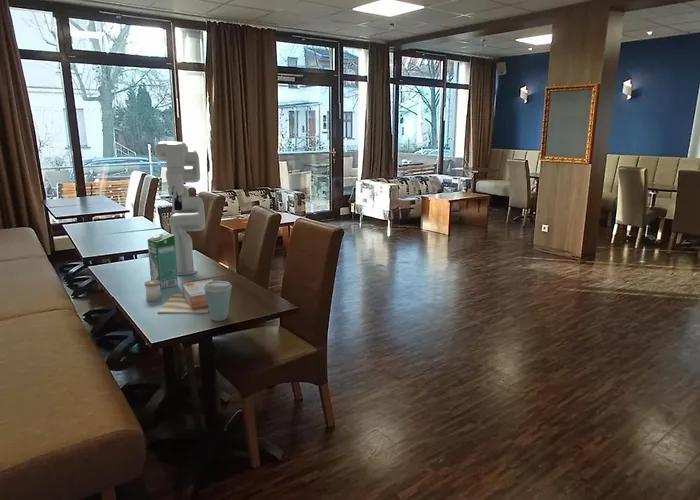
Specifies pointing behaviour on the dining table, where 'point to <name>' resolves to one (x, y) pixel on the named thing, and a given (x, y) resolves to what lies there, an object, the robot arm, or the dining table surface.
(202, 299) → the cracker box
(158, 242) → the milk carton
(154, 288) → the tan and white mushroom
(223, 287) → the disposable coffee cup
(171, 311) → the beech board
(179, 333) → the dining table surface
